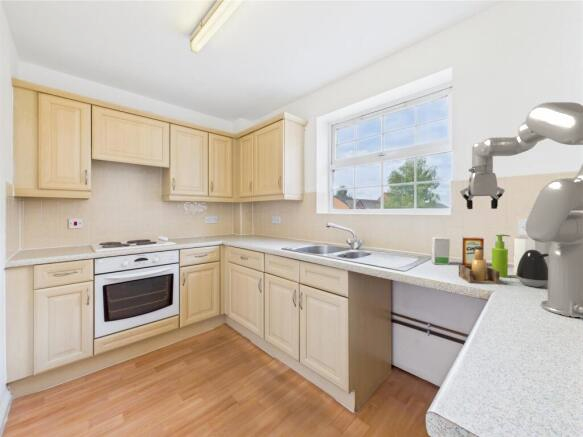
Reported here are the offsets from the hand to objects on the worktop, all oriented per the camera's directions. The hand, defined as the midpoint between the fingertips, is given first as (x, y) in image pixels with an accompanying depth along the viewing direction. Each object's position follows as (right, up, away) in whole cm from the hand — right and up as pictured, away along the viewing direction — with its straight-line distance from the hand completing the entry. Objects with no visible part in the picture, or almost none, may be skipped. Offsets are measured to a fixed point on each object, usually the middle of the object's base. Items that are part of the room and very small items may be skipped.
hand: (481, 208), depth 115 cm
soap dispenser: (+15, -32, +8) cm, 37 cm away
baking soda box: (+19, -31, +33) cm, 49 cm away
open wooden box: (-1, -33, +1) cm, 33 cm away
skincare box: (+3, -31, +37) cm, 49 cm away
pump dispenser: (+16, -33, -7) cm, 37 cm away
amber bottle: (-1, -32, +1) cm, 32 cm away
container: (+33, -32, +10) cm, 47 cm away
